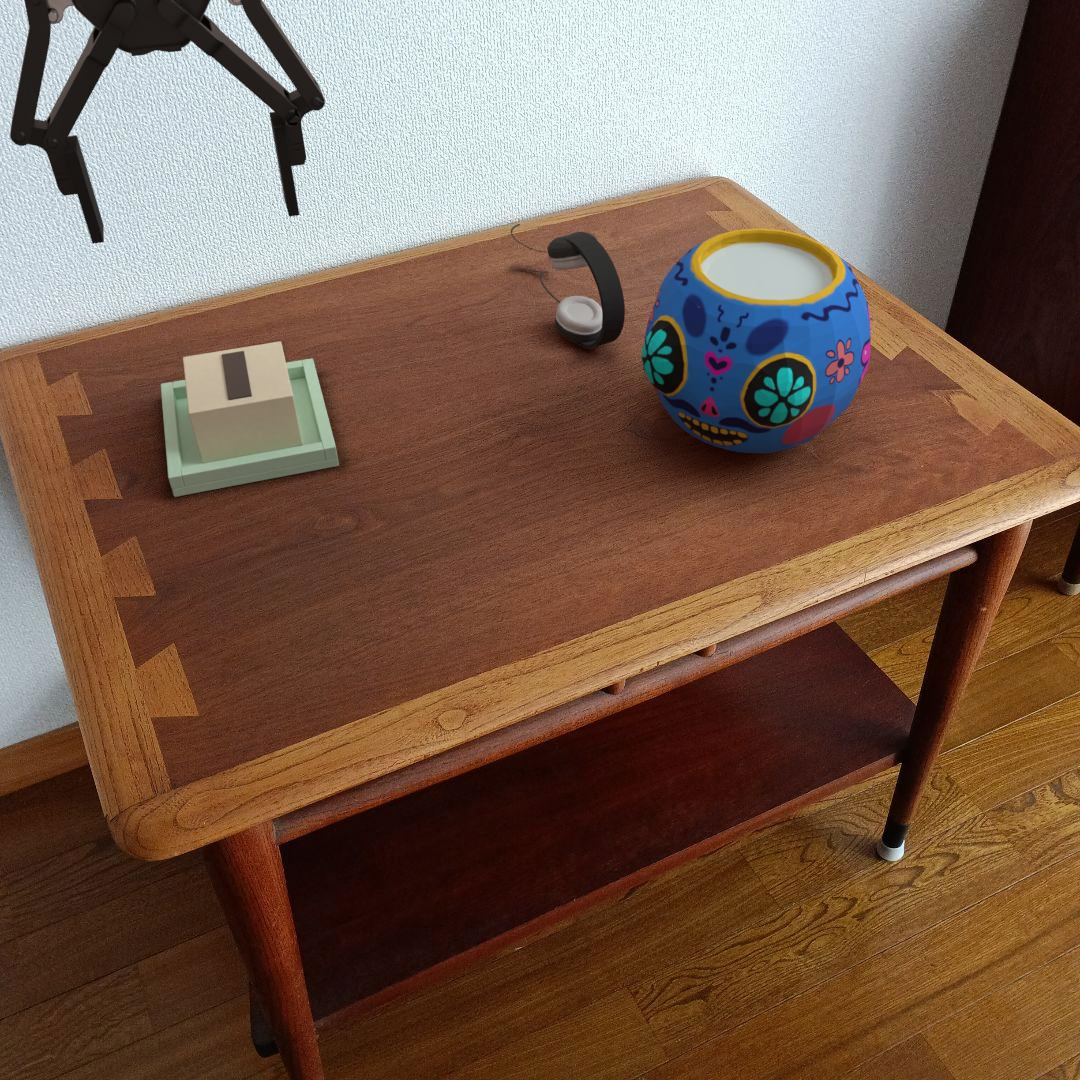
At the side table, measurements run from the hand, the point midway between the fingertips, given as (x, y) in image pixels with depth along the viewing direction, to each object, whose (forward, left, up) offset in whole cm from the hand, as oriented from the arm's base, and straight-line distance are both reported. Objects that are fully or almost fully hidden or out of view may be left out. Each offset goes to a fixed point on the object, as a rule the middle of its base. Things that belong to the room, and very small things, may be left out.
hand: (196, 221), depth 79 cm
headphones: (+31, -7, -19) cm, 37 cm away
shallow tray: (0, 0, -19) cm, 19 cm away
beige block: (0, 0, -18) cm, 18 cm away
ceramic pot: (+29, -30, -19) cm, 46 cm away
